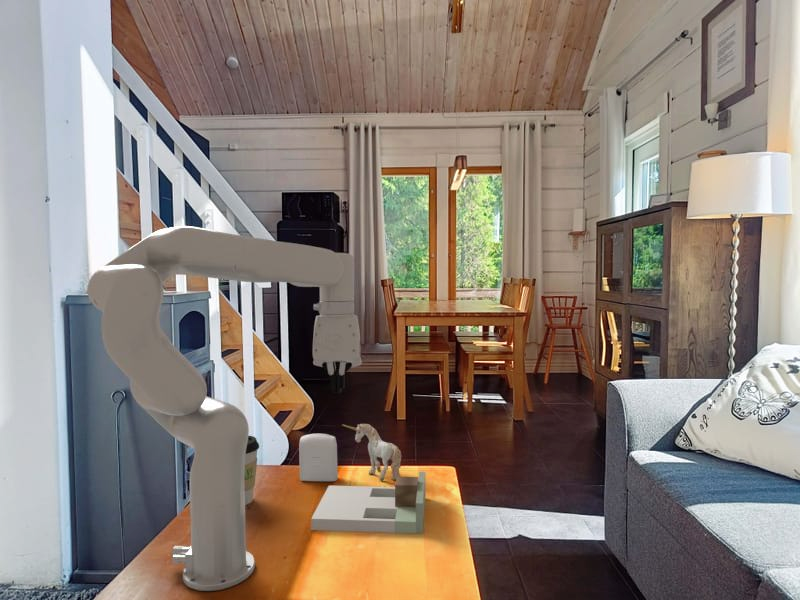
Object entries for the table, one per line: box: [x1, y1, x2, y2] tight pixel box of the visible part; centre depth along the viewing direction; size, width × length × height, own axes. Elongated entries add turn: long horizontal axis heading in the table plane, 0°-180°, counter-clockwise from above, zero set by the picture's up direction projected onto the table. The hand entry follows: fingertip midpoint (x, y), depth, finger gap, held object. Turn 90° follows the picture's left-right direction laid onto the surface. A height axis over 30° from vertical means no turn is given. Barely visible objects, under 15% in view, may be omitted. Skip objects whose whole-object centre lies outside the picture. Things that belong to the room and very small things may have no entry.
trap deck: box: [310, 471, 426, 535], centre depth 121 cm, size 24×18×6 cm
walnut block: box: [394, 476, 419, 507], centre depth 121 cm, size 5×5×5 cm
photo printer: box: [298, 433, 339, 482], centre depth 141 cm, size 10×4×12 cm, turn 85°
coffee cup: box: [244, 435, 260, 506], centre depth 127 cm, size 10×10×15 cm
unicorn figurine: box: [342, 423, 402, 482], centre depth 144 cm, size 7×20×13 cm, turn 55°
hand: (337, 391), depth 116 cm, fingers closed
